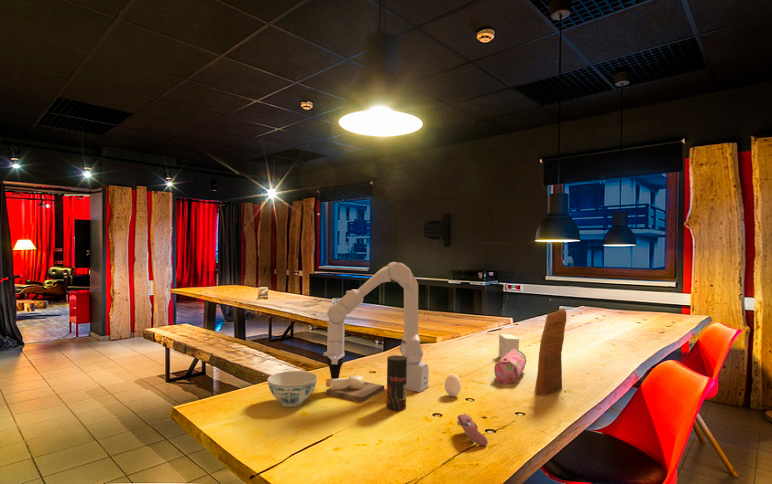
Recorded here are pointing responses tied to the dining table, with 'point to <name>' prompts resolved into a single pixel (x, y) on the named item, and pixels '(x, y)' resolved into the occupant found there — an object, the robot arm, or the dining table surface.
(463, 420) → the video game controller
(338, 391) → the flat rectangular base
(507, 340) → the skincare box
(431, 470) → the dining table surface
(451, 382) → the egg
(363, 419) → the dining table surface
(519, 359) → the pencil case
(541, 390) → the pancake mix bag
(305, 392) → the chinaware
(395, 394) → the deodorant
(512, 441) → the dining table surface
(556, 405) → the dining table surface
